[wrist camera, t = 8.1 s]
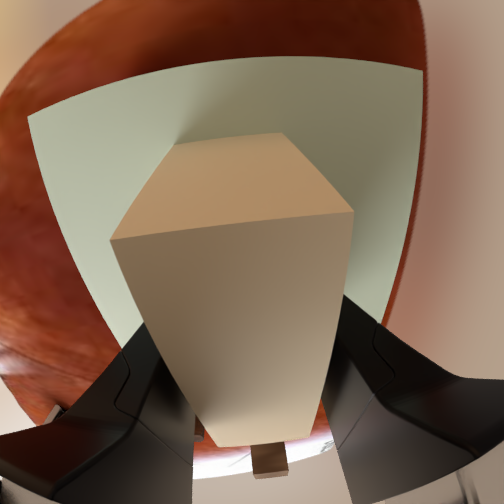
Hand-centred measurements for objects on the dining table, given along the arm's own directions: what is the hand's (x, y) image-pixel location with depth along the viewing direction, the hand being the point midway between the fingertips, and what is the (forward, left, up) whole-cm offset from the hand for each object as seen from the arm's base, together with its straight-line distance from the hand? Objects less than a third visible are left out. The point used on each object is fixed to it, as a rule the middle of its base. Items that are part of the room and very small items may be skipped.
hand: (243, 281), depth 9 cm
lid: (0, 0, -2) cm, 2 cm away
